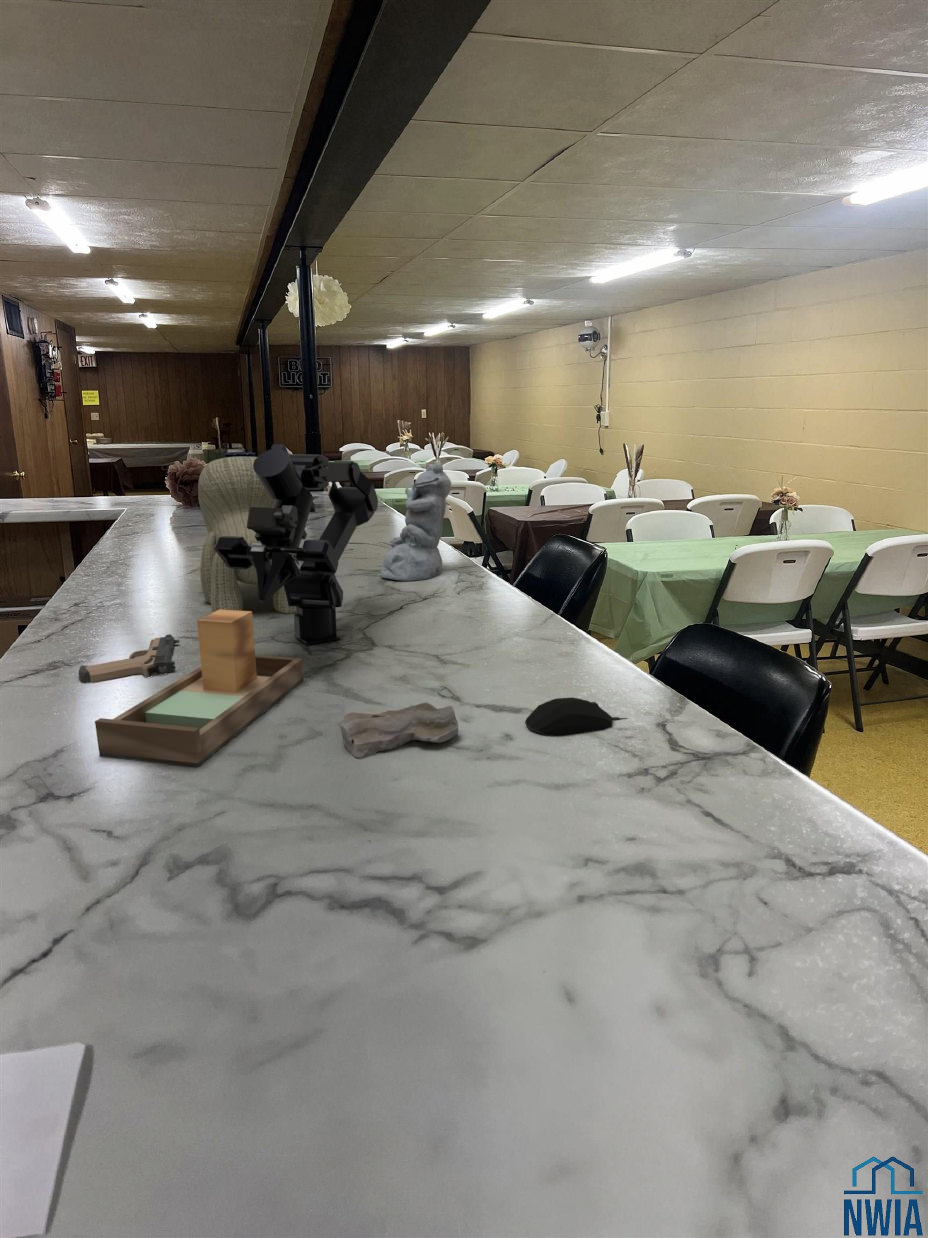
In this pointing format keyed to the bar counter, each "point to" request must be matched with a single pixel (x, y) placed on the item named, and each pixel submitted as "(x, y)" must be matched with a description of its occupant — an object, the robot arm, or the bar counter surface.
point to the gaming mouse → (568, 717)
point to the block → (227, 650)
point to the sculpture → (420, 529)
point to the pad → (190, 709)
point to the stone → (397, 728)
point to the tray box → (190, 744)
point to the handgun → (135, 663)
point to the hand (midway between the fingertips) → (262, 600)
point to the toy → (230, 529)
